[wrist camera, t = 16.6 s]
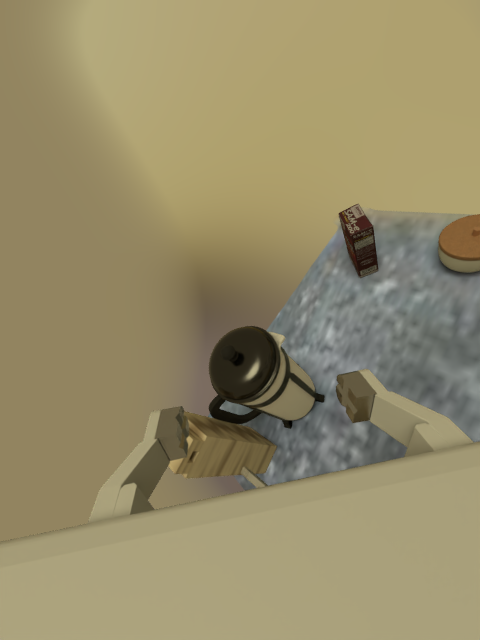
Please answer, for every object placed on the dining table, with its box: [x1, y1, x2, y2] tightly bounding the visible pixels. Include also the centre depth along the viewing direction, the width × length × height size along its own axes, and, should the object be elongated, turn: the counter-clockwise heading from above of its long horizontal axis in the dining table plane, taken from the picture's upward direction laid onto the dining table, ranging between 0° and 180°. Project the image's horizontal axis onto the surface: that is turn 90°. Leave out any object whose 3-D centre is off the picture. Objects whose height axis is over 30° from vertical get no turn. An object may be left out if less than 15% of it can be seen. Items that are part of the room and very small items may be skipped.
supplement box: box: [339, 204, 378, 278], centre depth 57 cm, size 9×5×16 cm, turn 4°
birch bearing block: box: [168, 411, 277, 478], centre depth 44 cm, size 8×6×28 cm
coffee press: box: [209, 326, 324, 429], centre depth 45 cm, size 17×16×30 cm
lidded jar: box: [438, 214, 480, 272], centre depth 47 cm, size 11×11×9 cm
